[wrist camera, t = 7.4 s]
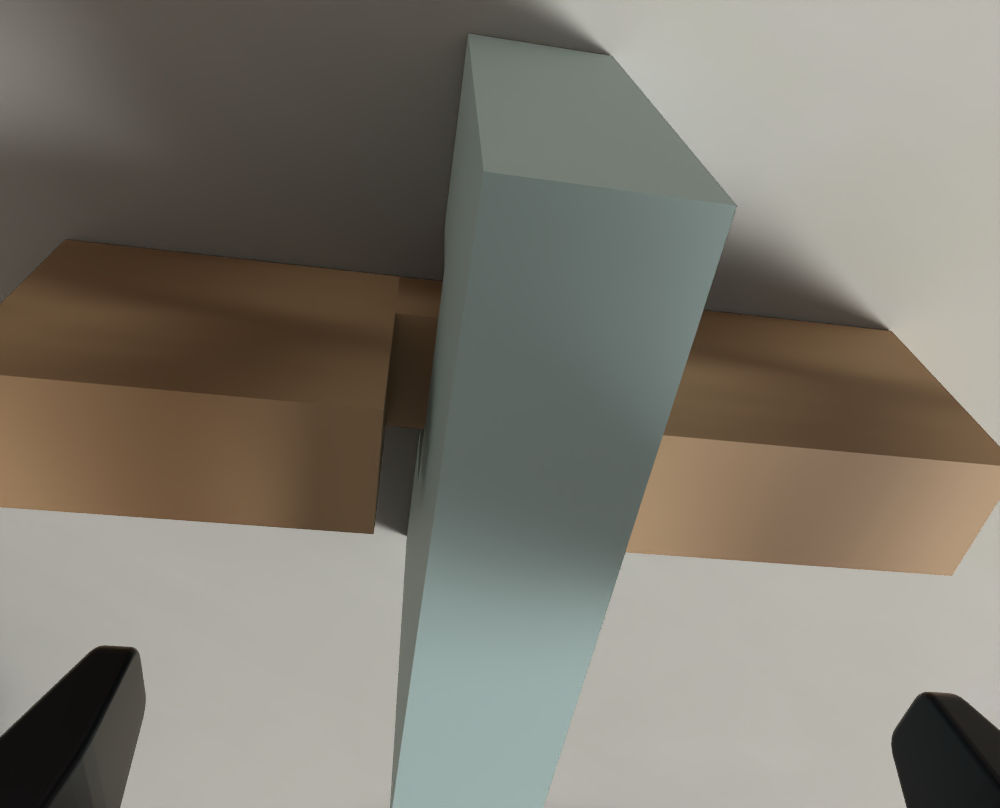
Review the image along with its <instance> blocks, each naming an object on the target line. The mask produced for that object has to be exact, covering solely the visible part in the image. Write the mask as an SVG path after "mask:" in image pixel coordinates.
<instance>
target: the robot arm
mask: <svg viewBox="0 0 1000 808" xmlns="http://www.w3.org/2000/svg"><path fill="white" fill-rule="evenodd" d="M145 703H146V695H145V687H144V680H143V673H142V666H141V659H140V655H139V652H138V651H137V649H135V648H133V647H123V646H99V647H97V648H95V649H93V650H92V651H90V652H89V653H88V654H87V655H86V656H85V657H84V658H83V659H82V660H81V661H80V662H79V663H78V664H77V665H75V666H74V667H73V668H72V669H71V670H70V671H69V672H68V673H67V674H66V675H65V676H64V677H63V678H62V679H61V680H60V681H59V682H58V683H57V684H55V685H54V686H53V687H52V688H51V689H50V690H49V691H48V692H47V693H46V694H45V695H44V696H43V697H42V698H41V699H40V700H39V701H38V702H36V703H35V704H34V705H33V706H32V707H31V708H30V709H29V710H28V711H27V712H26V713H25V714H24V715H23V716H22V717H21V718H20V719H19V720H18V721H16V722H15V723H14V724H13V725H12V726H11V727H10V728H9V729H8V730H7V731H6V732H5V733H4V734H3V735H2V736H1V737H0V808H120V806H121V802H122V798H123V794H124V790H125V786H126V782H127V778H128V775H129V771H130V767H131V763H132V759H133V755H134V751H135V747H136V744H137V740H138V736H139V732H140V728H141V724H142V720H143V716H144V711H145ZM891 745H892V754H893V758H894V761H895V765H896V769H897V773H898V777H899V780H900V784H901V788H902V792H903V795H904V799H905V803H906V807H907V808H1000V730H999V729H998V728H996V727H995V726H994V725H993V724H992V723H991V722H990V721H988V720H987V719H986V718H985V717H984V716H983V715H981V714H980V713H979V712H978V711H977V710H976V709H974V708H973V707H972V706H971V705H970V704H969V703H967V702H966V701H965V700H964V699H962V698H961V697H959V696H957V695H955V694H951V693H938V692H924V693H921V694H919V695H918V696H917V697H916V698H915V700H914V701H913V703H912V704H911V706H910V707H909V709H908V710H907V712H906V713H905V715H904V716H903V718H902V719H901V721H900V722H899V724H898V725H897V727H896V728H895V730H894V732H893V735H892V742H891Z"/></svg>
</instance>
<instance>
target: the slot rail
mask: <svg viewBox="0 0 1000 808" xmlns="http://www.w3.org/2000/svg"><path fill="white" fill-rule="evenodd" d="M442 285H443V281H435V280H426V279H417V278H408V277H399V276H390V275H381V274H372V273H363V272H354V271H345V270H336V269H326V268H317V267H308V266H299V265H290V264H281V263H272V262H263V261H254V260H245V259H236V258H227V257H218V256H209V255H200V254H191V253H182V252H173V251H164V250H155V249H146V248H137V247H128V246H119V245H110V244H101V243H92V242H83V241H74V240H65V241H64V242H63V243H62V244H61V245H59V246H58V247H57V248H56V249H55V250H54V251H53V252H52V253H51V254H50V255H49V256H48V257H47V258H46V259H45V260H44V261H43V262H42V263H41V264H40V265H39V266H38V267H37V268H36V269H35V270H34V271H33V272H32V273H31V274H30V275H29V276H28V277H27V278H26V279H25V280H24V281H23V282H22V283H21V284H20V285H19V286H18V287H17V288H16V289H15V290H14V291H13V292H12V293H11V294H10V295H9V296H8V297H7V298H6V299H5V300H4V301H3V302H2V303H1V304H0V507H6V508H20V509H34V510H48V511H62V512H75V513H89V514H103V515H117V516H131V517H145V518H158V519H172V520H186V521H200V522H214V523H228V524H242V525H255V526H269V527H283V528H297V529H311V530H325V531H339V532H352V533H366V534H374V526H375V517H376V508H377V499H378V490H379V482H380V473H381V464H382V455H383V446H384V437H385V429H386V426H397V427H408V428H419V429H425V421H426V413H427V405H428V397H429V389H430V381H431V373H432V365H433V357H434V349H435V341H436V333H437V325H438V317H439V309H440V301H441V293H442ZM999 499H1000V446H999V445H998V444H997V443H996V442H995V441H994V440H993V439H992V438H991V437H990V436H989V435H988V434H987V433H986V432H985V430H984V429H983V428H982V427H981V426H980V425H979V424H978V423H977V422H976V421H975V420H974V419H973V418H972V417H971V415H970V414H969V413H968V412H967V411H966V410H965V409H964V408H963V407H962V406H961V405H960V404H959V403H958V402H957V401H956V399H955V398H954V397H953V396H952V395H951V394H950V393H949V392H948V391H947V390H946V389H945V388H944V387H943V386H942V384H941V383H940V382H939V381H938V380H937V379H936V378H935V377H934V376H933V375H932V374H931V373H930V372H929V371H928V370H927V368H926V367H925V366H924V365H923V364H922V363H921V362H920V361H919V360H918V359H917V358H916V357H915V356H914V355H913V353H912V352H911V351H910V350H909V349H908V348H907V347H906V346H905V345H904V344H903V343H902V342H901V341H900V340H899V339H898V337H897V336H896V335H895V334H894V333H893V332H892V331H886V330H877V329H868V328H859V327H850V326H841V325H832V324H823V323H814V322H805V321H796V320H787V319H778V318H769V317H760V316H751V315H742V314H733V313H724V312H715V311H706V310H703V313H702V316H701V319H700V322H699V325H698V328H697V331H696V334H695V337H694V341H693V344H692V347H691V350H690V353H689V356H688V359H687V362H686V365H685V368H684V372H683V375H682V378H681V381H680V384H679V387H678V390H677V393H676V396H675V400H674V403H673V406H672V409H671V412H670V415H669V418H668V421H667V424H666V427H665V431H664V434H663V437H662V440H661V443H660V446H659V449H658V452H657V455H656V458H655V462H654V465H653V468H652V471H651V474H650V477H649V480H648V483H647V486H646V489H645V493H644V496H643V499H642V502H641V505H640V508H639V511H638V514H637V517H636V521H635V524H634V527H633V530H632V533H631V536H630V539H629V542H628V545H627V548H626V552H629V553H643V554H657V555H671V556H685V557H699V558H712V559H726V560H740V561H754V562H768V563H782V564H795V565H809V566H823V567H837V568H851V569H865V570H879V571H892V572H906V573H920V574H934V575H948V576H952V575H953V573H954V572H955V570H956V568H957V567H958V565H959V564H960V562H961V560H962V559H963V557H964V556H965V554H966V552H967V551H968V549H969V547H970V546H971V544H972V543H973V541H974V539H975V538H976V536H977V535H978V533H979V531H980V530H981V528H982V527H983V525H984V523H985V522H986V520H987V519H988V517H989V515H990V514H991V512H992V511H993V509H994V507H995V506H996V504H997V503H998V501H999Z"/></svg>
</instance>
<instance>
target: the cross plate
mask: <svg viewBox="0 0 1000 808" xmlns="http://www.w3.org/2000/svg"><path fill="white" fill-rule="evenodd" d="M736 207H737V205H736V204H735V203H734V202H733V200H732V199H731V198H730V197H729V195H728V194H727V193H726V192H725V191H724V189H723V188H722V187H721V186H720V185H719V183H718V182H717V181H716V180H715V179H714V177H713V176H712V175H711V174H710V173H709V171H708V170H707V169H706V168H705V167H704V165H703V164H702V163H701V162H700V161H699V159H698V158H697V157H696V156H695V155H694V153H693V152H692V151H691V150H690V149H689V147H688V146H687V145H686V144H685V143H684V141H683V140H682V139H681V138H680V137H679V135H678V134H677V133H676V132H675V131H674V129H673V128H672V127H671V126H670V125H669V123H668V122H667V121H666V120H665V119H664V117H663V116H662V115H661V114H660V113H659V111H658V110H657V109H656V108H655V107H654V105H653V104H652V103H651V102H650V101H649V99H648V98H647V97H646V96H645V95H644V93H643V92H642V91H641V90H640V89H639V87H638V86H637V85H636V84H635V82H634V81H633V80H632V79H631V78H630V76H629V75H628V74H627V73H626V72H625V70H624V69H623V68H622V67H621V66H620V64H619V63H618V62H617V61H616V60H615V58H614V57H613V56H609V55H603V54H596V53H590V52H584V51H577V50H571V49H564V48H558V47H552V46H545V45H539V44H533V43H526V42H520V41H513V40H507V39H501V38H494V37H488V36H481V35H475V34H469V33H468V38H467V47H466V55H465V63H464V71H463V79H462V88H461V96H460V104H459V112H458V121H457V129H456V137H455V145H454V153H453V162H452V170H451V178H450V186H449V195H448V203H447V211H446V219H445V264H444V277H443V285H442V293H441V301H440V309H439V317H438V325H437V333H436V341H435V349H434V357H433V365H432V373H431V381H430V389H429V397H428V405H427V413H426V421H425V429H420V433H419V441H418V449H417V457H416V466H415V474H414V482H413V490H412V499H411V507H410V515H409V523H408V531H407V542H406V558H405V574H404V591H403V607H402V623H401V640H400V656H399V672H398V688H397V705H396V721H395V737H394V753H393V770H392V786H391V802H390V808H543V806H544V803H545V800H546V797H547V794H548V790H549V787H550V784H551V781H552V778H553V775H554V772H555V769H556V766H557V763H558V759H559V756H560V753H561V750H562V747H563V744H564V741H565V738H566V735H567V731H568V728H569V725H570V722H571V719H572V716H573V713H574V710H575V707H576V704H577V700H578V697H579V694H580V691H581V688H582V685H583V682H584V679H585V676H586V673H587V669H588V666H589V663H590V660H591V657H592V654H593V651H594V648H595V645H596V642H597V638H598V635H599V632H600V629H601V626H602V623H603V620H604V617H605V614H606V610H607V607H608V604H609V601H610V598H611V595H612V592H613V589H614V586H615V583H616V579H617V576H618V573H619V570H620V567H621V564H622V561H623V558H624V555H625V552H626V548H627V545H628V542H629V539H630V536H631V533H632V530H633V527H634V524H635V521H636V517H637V514H638V511H639V508H640V505H641V502H642V499H643V496H644V493H645V489H646V486H647V483H648V480H649V477H650V474H651V471H652V468H653V465H654V462H655V458H656V455H657V452H658V449H659V446H660V443H661V440H662V437H663V434H664V431H665V427H666V424H667V421H668V418H669V415H670V412H671V409H672V406H673V403H674V400H675V396H676V393H677V390H678V387H679V384H680V381H681V378H682V375H683V372H684V368H685V365H686V362H687V359H688V356H689V353H690V350H691V347H692V344H693V341H694V337H695V334H696V331H697V328H698V325H699V322H700V319H701V316H702V313H703V310H704V306H705V303H706V300H707V297H708V294H709V291H710V288H711V285H712V282H713V279H714V275H715V272H716V269H717V266H718V263H719V260H720V257H721V254H722V251H723V247H724V244H725V241H726V238H727V235H728V232H729V229H730V226H731V223H732V220H733V216H734V213H735V210H736Z"/></svg>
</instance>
